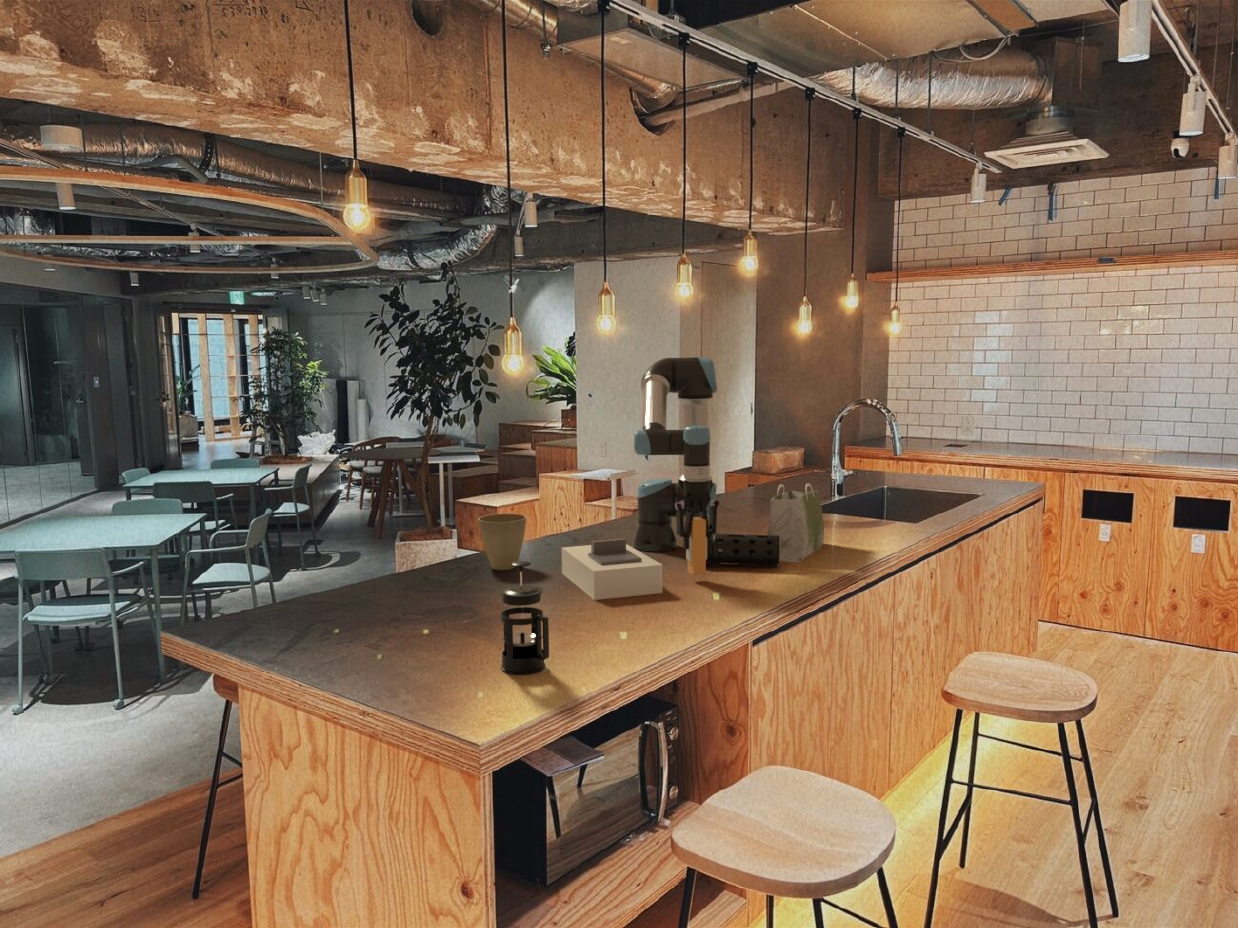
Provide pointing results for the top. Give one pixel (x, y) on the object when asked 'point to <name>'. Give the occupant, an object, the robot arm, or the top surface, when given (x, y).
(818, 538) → the grocery bag
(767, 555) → the muzzle brake
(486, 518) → the plant pot
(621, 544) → the shutter
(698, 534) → the plug peg
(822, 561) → the top surface
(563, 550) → the socket block
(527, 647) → the french press
